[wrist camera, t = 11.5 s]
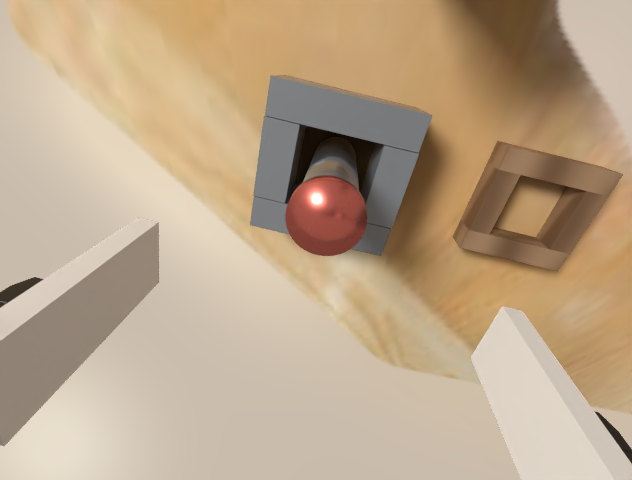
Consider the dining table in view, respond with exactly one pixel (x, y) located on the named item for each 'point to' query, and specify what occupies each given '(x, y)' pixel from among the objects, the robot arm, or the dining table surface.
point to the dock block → (344, 118)
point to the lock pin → (328, 202)
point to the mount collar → (562, 224)
